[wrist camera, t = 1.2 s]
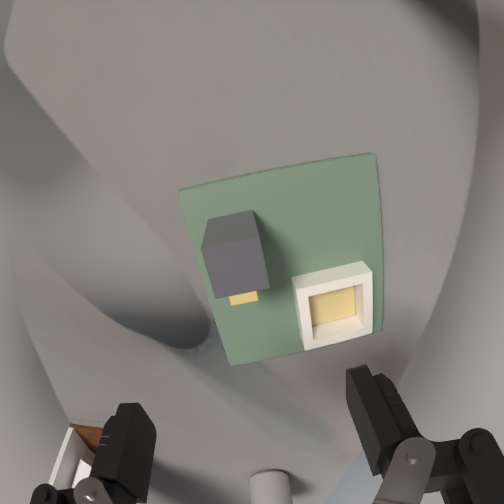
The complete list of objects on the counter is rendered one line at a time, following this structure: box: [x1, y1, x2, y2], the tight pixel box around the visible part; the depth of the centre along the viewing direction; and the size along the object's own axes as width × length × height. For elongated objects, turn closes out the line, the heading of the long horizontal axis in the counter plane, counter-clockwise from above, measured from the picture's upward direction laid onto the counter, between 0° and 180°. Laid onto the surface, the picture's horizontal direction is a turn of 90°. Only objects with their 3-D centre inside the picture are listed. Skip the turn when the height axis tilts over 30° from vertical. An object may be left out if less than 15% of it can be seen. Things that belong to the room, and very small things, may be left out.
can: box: [249, 470, 293, 504], centre depth 42 cm, size 8×8×12 cm
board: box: [177, 153, 383, 366], centre depth 29 cm, size 20×18×4 cm
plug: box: [201, 210, 270, 306], centre depth 25 cm, size 5×4×7 cm
